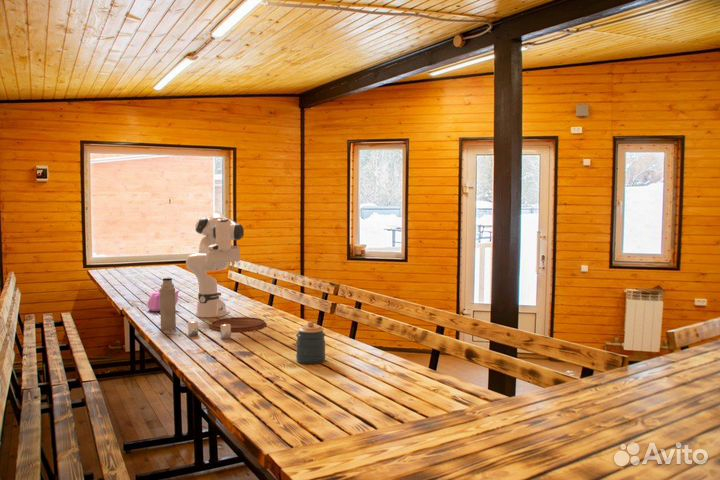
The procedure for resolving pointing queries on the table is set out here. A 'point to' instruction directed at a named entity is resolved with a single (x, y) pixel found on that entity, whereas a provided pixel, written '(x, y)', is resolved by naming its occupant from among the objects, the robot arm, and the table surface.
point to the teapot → (158, 301)
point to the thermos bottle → (167, 304)
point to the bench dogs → (194, 330)
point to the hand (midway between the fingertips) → (223, 269)
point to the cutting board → (239, 324)
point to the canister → (310, 344)
